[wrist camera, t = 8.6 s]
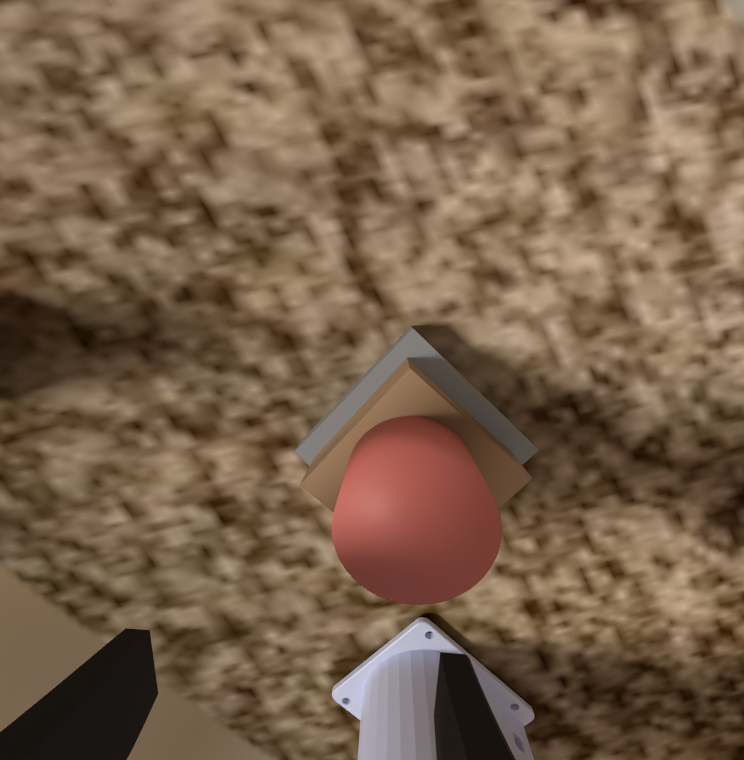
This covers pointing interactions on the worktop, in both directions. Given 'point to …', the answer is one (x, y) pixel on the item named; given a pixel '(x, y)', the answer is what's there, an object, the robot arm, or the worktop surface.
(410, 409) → the tower top block
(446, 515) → the red rounded block
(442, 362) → the tower base block
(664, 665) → the worktop surface
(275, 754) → the worktop surface
